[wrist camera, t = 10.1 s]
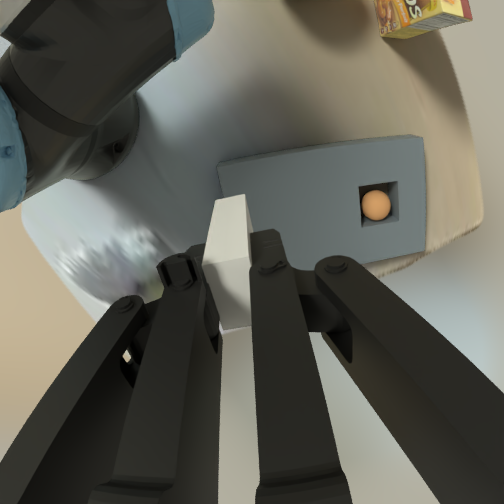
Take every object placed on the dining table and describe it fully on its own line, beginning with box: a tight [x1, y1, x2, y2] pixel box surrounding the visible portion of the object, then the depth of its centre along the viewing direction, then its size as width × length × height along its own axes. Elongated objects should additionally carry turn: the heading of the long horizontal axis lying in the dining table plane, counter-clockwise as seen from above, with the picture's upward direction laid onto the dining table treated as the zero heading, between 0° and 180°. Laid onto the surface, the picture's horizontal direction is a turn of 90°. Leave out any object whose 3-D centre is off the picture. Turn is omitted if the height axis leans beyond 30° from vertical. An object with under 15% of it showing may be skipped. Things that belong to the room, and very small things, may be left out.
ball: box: [361, 190, 391, 220], centre depth 39 cm, size 4×4×4 cm
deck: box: [217, 135, 426, 270], centre depth 40 cm, size 26×16×4 cm, turn 101°
